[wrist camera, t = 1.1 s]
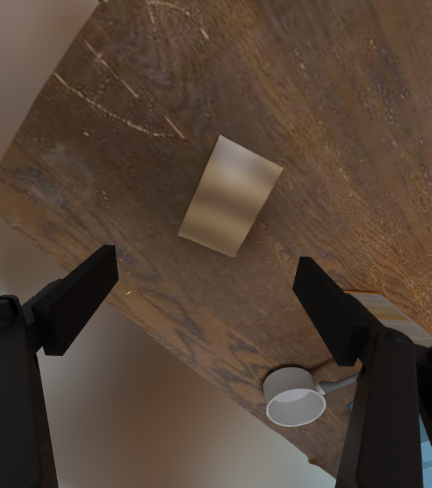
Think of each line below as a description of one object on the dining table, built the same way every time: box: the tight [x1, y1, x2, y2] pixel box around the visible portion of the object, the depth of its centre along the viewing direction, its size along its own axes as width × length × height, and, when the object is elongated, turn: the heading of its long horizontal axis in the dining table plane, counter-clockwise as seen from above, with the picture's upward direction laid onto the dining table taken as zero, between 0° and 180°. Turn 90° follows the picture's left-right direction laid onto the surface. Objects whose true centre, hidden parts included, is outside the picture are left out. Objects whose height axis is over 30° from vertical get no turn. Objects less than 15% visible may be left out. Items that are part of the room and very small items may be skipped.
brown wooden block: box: [178, 135, 284, 258], centre depth 31 cm, size 14×9×3 cm, turn 155°
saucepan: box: [263, 367, 359, 427], centre depth 44 cm, size 12×20×6 cm, turn 128°
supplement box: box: [344, 291, 432, 347], centre depth 34 cm, size 8×5×13 cm, turn 85°
